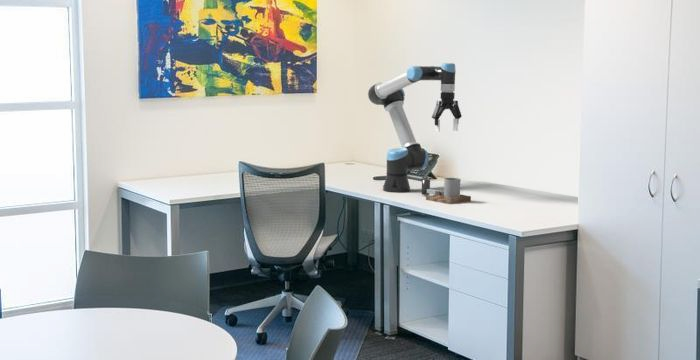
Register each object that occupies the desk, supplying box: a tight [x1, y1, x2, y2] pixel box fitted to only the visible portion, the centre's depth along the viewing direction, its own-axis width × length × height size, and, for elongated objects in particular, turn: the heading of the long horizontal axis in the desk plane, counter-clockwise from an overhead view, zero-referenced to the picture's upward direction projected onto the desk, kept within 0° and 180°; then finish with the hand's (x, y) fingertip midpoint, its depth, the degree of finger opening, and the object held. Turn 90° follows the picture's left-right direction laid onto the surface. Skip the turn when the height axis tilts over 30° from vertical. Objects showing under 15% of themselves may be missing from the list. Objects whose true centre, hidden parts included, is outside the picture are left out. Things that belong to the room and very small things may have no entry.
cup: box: [443, 177, 461, 198], centre depth 468 cm, size 8×8×10 cm
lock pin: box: [421, 178, 444, 196], centre depth 480 cm, size 16×4×8 cm, turn 38°
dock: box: [425, 189, 472, 205], centre depth 469 cm, size 17×16×4 cm
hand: (446, 131), depth 487 cm, fingers open, 13 cm apart
